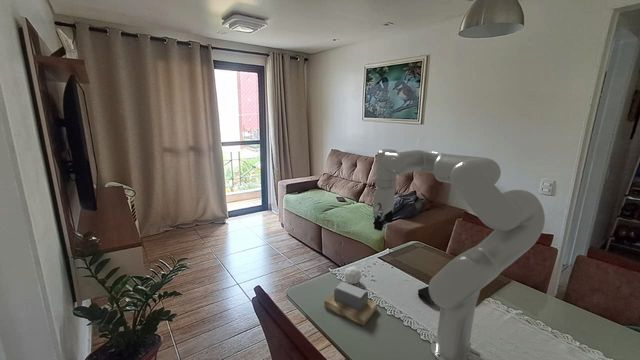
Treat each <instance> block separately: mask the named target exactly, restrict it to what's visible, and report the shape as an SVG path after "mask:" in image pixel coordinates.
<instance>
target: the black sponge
mask: <svg viewBox="0 0 640 360" xmlns="http://www.w3.org/2000/svg"><path fill="white" fill-rule="evenodd" d="M417 295H418V297H419V299H423V300H425V301H426V303H428V304H430V305H436V304H435V303H434V302H433V300H432V299H431V297H430V295H429V285H428V286H425V287H423V288H419V289H418V290H417Z"/></svg>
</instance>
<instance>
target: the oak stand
mask: <svg viewBox="0 0 640 360" xmlns="http://www.w3.org/2000/svg"><path fill="white" fill-rule="evenodd" d="M323 304H324V305H323V306H324V308H326V309H327V310H330V311H332V312H335V314H338V315H340V316H342V317H344V318H347V319H349V320H351V321H353V322H355V323H358V324H360V325H362V326H365V325H366V324H367V323H368V322H369V321H370V319H371V317H373V315H374V314H375V312H376V311H377V310H378V302H376V301H374V300H371V299H369V298H368V304H367V305H366V306H365V307H364V309H363V310H362V311H361V312H360V311H358V310H355V309H353V308H351V307H348V306H346V305H344V304H342V303H339V302H337V301H335V300H334V291H333V292H332V293H331V294H330V295H329V296H328V297H327V298H325V300H324V301H323Z"/></svg>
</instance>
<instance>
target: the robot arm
mask: <svg viewBox="0 0 640 360" xmlns="http://www.w3.org/2000/svg"><path fill="white" fill-rule="evenodd" d="M501 170H502V169H501V167H500V165H499V163H498V162H496V161H495V160H494V159H492V158H488V157H484V156H483V157H481V156H472V155H462V154H461V155H460V154H451V153H444V152H440V151H433V150H431V151H430V150H423V149H422V150H421V149H420V150H419V149H414V150H407V151H405V150H404V151H399V152H398V151H397V150H395V149H389V148H383V149H379V150H378V151H377V153H376V169H375V171H376V172H375V189H374V196H373V202H372V203H373V205H372V213H373V221H374V222H373V223H374V224H373V229H374V230H376V231H380V232H382V231H383V230H384V228H383V227H384V222H387V223H390V224H391V223H393V221H394V220H393V219H394V212H395V211H394V207H395V201H396V200H395V199H396V197H395V195H396V190H395V189H396V188H397V182H398V181H397V177H398V175H400V176H401V175H405V174H409V173H414V172H415V173H416V172H423V173H429V174H433V175H434V178H435V179H436V180H437V181H438V182H441V183H447V184H452V187H454V189H455V190H456V193H457V194H458V195H459V196H460V198H461V199H462V200H463V201H464V203H466V205H467V206H468V207H469V208H470V209H471V211H472V212H473V213H474V214H475V216H477V218H478V219H479V220H480V221H481V222H482V223H483V224H484V225H485V226H486V227H488V228H490V229H492V230H493V231H491V232H490V233H489V235H488V236H487V237H485V238H484V239H483V240H482V241H481V242H479V243H478V244H477V245H475V246H473V247H471V248H469V249H467V250H465V251H464V252H462V253H460V254H458V255H457V256H455V257H454V258H453V259H452V260H450V261H449V262H448V263H447V264H446V265H444V267H442V269H440V271H438V272H437V273H436V274H435V275H434V276H433V277H432V278H431V279H430V281H429V282H428V286H429V295H430V297H431V299H432V300H433V302H434V303H435V304H434V305H437V306H438V307H440V308H439V309H440V311H439V317H438V324H437V325H438V328H437V335H436V336H435V337H434V338H433V339H432V340H431V343H430V350H431V352H432V354H433V356H434V357H435V358H436V359H435V360H485V358H483V357H481V354H482V352H480V351H478V350H475V349H473V348H472V347H471V346H472V342H471V337H472V330H473V329H472V328H473V325H474V324H473V322H474V317H475V312H476V308H477V303H478V298H479V297H480V293H481V290H483V289H484V288H485V287H486V286H487V285H488V284H490V283H491V282H493V281H494V280H495V279H496V278H497V277H498V276H499V275H500V274H501V273H502V272H503V271H504V270H506V269H507V268H508V267H509V266H511V265H512V264H514V263H515V262H516V261H517V260H518V259H519V258H521V257H522V256H523V255H524V254H525V253H526V252H528V251H529V250H530V249H531V248H532V247H533V246H534V245H535V244H536V243H537V241H538V240H539V238H540V236H541V235H542V233H543V231H544V228H545V221H546V216H545V211H544V207H543V205H542V203H541V201H540V200H539V198H538V197H537V196H536V195H535V194H533V193H532V192H530V191H528V190H525V189H512V190H508V191H505V192H502V191H500V189H499V188H498V187H497V186H496V184H497V182H499V179H500V178H501V175H502V174H501ZM383 219H384V220H383Z"/></svg>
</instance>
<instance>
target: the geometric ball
mask: <svg viewBox="0 0 640 360" xmlns="http://www.w3.org/2000/svg"><path fill="white" fill-rule="evenodd" d="M343 275H344V276H343V277H344V280H345V281H346V283H348V284H350V285H355V284H358V283H359V282H361V278H362V274H361V271H360V269H359V268H357V267H356V266H349V267H347V268H345V271H344V274H343Z"/></svg>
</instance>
